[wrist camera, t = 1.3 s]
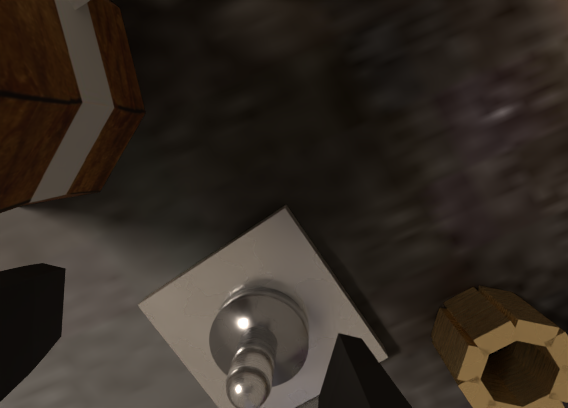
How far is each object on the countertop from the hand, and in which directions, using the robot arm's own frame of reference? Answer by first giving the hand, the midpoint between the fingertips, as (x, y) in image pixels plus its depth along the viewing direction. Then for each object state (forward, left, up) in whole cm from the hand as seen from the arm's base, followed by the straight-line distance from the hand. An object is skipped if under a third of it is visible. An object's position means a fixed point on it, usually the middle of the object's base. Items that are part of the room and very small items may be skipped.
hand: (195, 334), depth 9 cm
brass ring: (-12, -7, -10) cm, 17 cm away
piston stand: (-5, +3, -10) cm, 12 cm away
